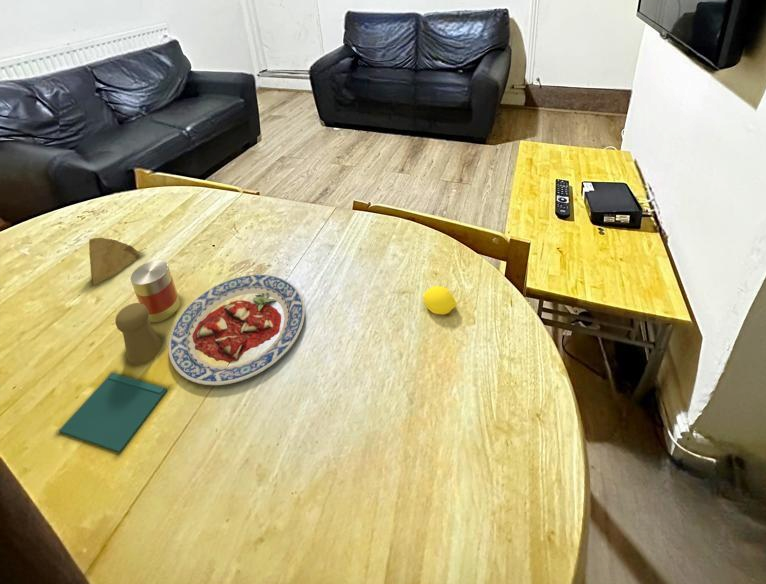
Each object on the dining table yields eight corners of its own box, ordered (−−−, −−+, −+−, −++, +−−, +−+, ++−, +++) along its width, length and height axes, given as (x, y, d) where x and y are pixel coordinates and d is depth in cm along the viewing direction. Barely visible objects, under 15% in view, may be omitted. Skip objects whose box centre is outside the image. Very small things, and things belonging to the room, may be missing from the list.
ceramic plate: (210, 425, 66) (206, 413, 65) (149, 334, 83) (145, 324, 81) (331, 323, 83) (330, 313, 82) (261, 265, 100) (260, 255, 98)
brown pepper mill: (120, 361, 77) (102, 319, 73) (147, 335, 82) (131, 294, 78) (144, 371, 75) (127, 328, 71) (170, 343, 81) (155, 302, 76)
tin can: (137, 321, 86) (121, 281, 81) (161, 296, 92) (148, 257, 87) (164, 328, 84) (150, 287, 79) (187, 302, 90) (175, 262, 86)
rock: (143, 239, 106) (96, 247, 102) (137, 228, 100) (88, 236, 96) (143, 282, 101) (94, 291, 97) (137, 274, 95) (85, 283, 91)
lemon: (419, 315, 85) (419, 295, 82) (426, 295, 89) (427, 276, 87) (452, 325, 82) (453, 305, 80) (458, 304, 87) (459, 285, 85)
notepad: (61, 435, 66) (58, 429, 65) (113, 377, 75) (111, 371, 74) (121, 456, 63) (118, 450, 62) (168, 392, 72) (166, 387, 71)
